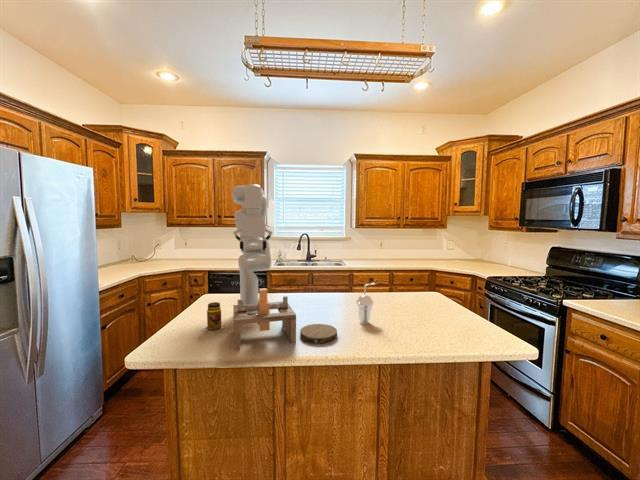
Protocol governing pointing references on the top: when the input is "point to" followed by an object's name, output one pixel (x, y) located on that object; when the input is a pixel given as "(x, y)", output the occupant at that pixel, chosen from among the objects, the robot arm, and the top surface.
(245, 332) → the top surface
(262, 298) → the l-shaped step block
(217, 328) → the condiment
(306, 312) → the top surface
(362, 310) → the cup with straw
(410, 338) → the top surface
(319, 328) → the brown round disc
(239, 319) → the shelf
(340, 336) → the top surface
